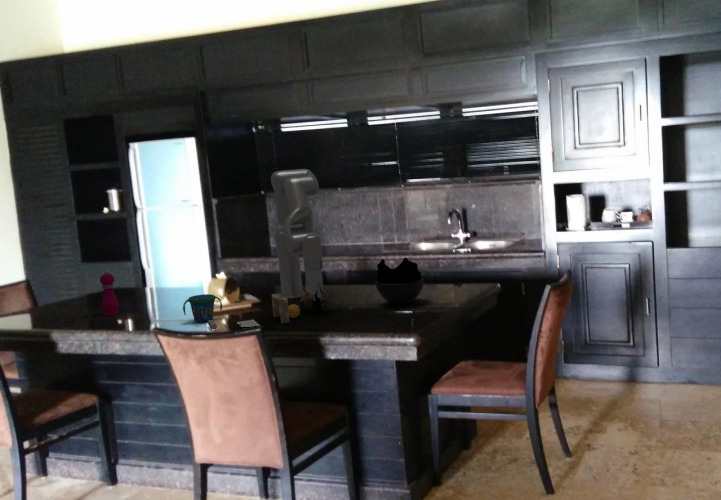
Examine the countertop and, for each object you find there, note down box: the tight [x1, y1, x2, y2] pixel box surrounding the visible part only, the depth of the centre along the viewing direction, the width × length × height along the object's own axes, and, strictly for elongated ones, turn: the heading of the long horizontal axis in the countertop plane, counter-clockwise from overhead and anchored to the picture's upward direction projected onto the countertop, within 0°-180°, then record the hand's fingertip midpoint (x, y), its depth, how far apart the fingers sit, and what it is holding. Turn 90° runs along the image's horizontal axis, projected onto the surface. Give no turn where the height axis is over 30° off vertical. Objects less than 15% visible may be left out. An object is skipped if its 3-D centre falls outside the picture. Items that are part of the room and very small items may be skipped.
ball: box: [288, 303, 301, 319], centre depth 304 cm, size 6×6×6 cm
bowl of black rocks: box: [374, 257, 425, 305], centre depth 314 cm, size 20×20×19 cm
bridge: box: [271, 292, 290, 324], centre depth 303 cm, size 3×14×9 cm, turn 19°
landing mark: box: [237, 319, 261, 328], centre depth 298 cm, size 12×12×1 cm
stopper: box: [207, 319, 218, 330], centre depth 296 cm, size 9×2×2 cm, turn 19°
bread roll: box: [300, 291, 326, 308], centre depth 327 cm, size 10×10×8 cm
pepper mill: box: [99, 269, 120, 317], centre depth 338 cm, size 7×7×20 cm
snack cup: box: [182, 293, 223, 323], centre depth 310 cm, size 16×10×10 cm
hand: (317, 310), depth 308 cm, fingers closed
